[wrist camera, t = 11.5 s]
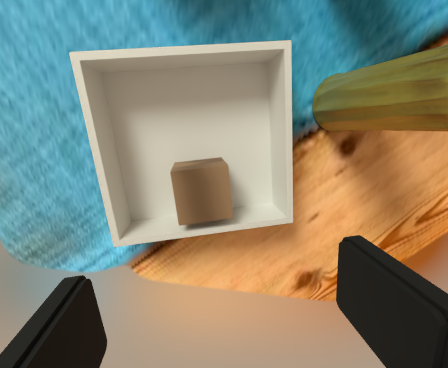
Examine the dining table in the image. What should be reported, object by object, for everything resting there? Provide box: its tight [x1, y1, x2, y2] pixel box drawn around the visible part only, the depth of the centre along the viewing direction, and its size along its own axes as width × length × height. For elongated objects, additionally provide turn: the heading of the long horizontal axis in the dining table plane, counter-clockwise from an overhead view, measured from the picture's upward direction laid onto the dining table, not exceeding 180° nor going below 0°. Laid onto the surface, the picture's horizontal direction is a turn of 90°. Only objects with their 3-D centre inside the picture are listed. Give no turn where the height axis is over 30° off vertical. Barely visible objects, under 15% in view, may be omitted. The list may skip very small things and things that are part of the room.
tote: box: [69, 40, 293, 247], centre depth 23 cm, size 17×16×5 cm
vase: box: [312, 44, 448, 132], centre depth 19 cm, size 6×6×14 cm
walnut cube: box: [170, 157, 233, 226], centre depth 23 cm, size 5×5×5 cm
